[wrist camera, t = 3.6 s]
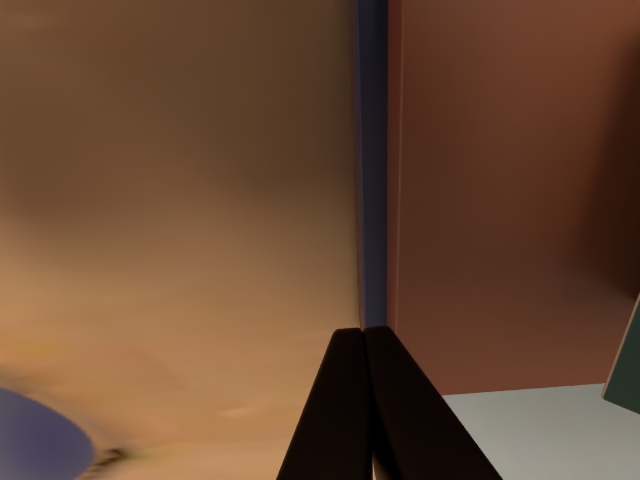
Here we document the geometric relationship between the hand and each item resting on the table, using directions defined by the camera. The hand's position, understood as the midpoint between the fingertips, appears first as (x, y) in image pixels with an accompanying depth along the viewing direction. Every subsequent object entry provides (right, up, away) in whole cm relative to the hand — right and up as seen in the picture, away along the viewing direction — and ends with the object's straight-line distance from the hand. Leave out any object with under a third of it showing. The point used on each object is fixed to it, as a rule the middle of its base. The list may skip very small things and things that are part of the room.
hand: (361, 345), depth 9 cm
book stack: (+3, +5, +5) cm, 8 cm away
